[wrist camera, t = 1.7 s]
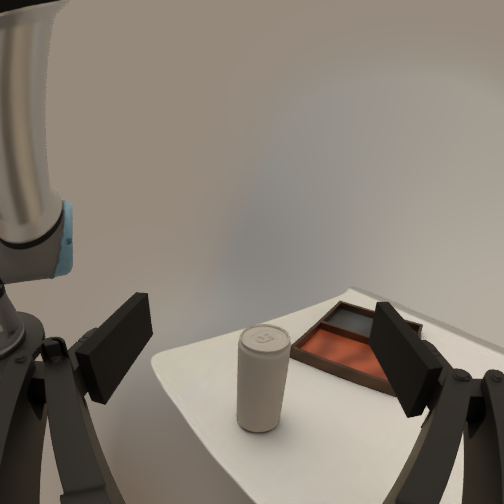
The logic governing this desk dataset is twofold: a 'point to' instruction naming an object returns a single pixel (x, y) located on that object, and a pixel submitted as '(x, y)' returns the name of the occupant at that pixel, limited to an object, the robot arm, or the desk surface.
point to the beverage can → (261, 376)
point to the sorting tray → (345, 346)
